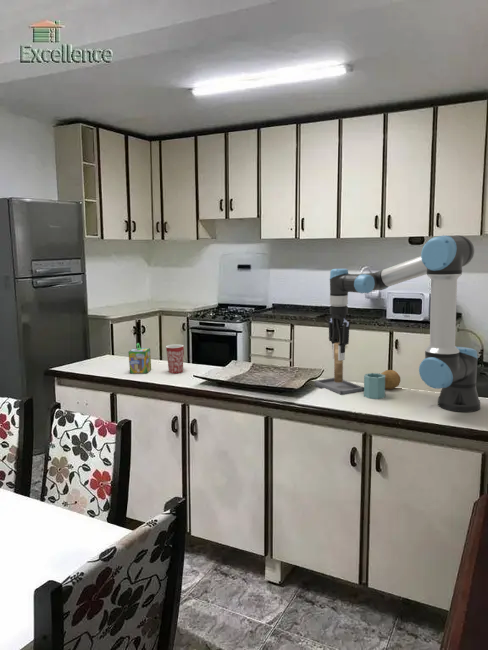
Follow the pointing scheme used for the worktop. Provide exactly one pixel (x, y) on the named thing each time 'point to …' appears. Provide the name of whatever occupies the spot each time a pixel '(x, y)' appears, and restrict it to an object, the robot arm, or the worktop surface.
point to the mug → (175, 358)
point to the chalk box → (139, 360)
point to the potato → (391, 379)
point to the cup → (374, 385)
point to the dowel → (337, 365)
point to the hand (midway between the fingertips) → (338, 359)
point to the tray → (338, 386)
